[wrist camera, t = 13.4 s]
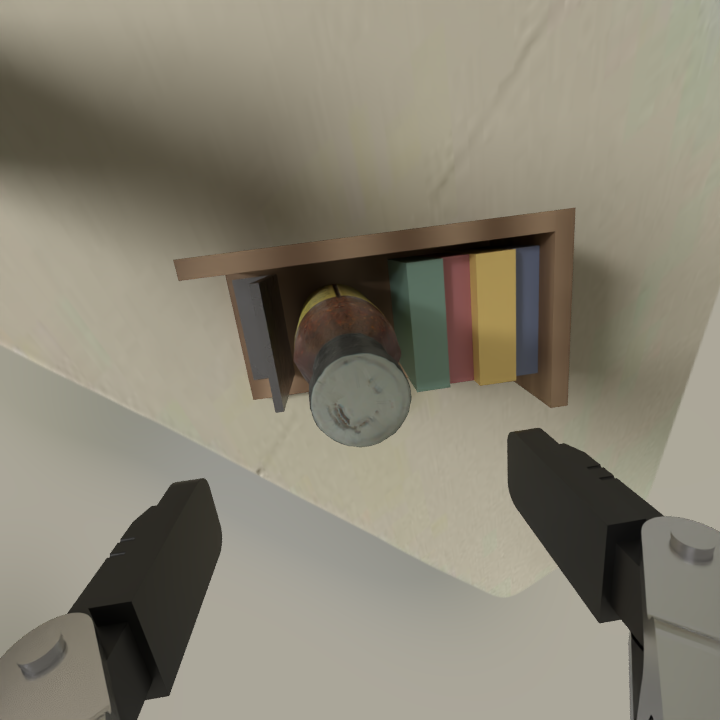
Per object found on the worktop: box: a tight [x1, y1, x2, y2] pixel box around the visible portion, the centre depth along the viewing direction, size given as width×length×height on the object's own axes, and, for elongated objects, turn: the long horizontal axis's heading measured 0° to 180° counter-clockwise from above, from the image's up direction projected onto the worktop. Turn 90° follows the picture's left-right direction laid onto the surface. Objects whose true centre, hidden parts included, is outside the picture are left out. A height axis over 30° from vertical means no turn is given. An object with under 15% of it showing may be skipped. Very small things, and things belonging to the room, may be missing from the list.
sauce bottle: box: [294, 284, 411, 447], centre depth 24 cm, size 6×6×20 cm
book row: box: [387, 245, 540, 392], centre depth 30 cm, size 9×9×9 cm
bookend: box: [232, 274, 295, 413], centre depth 29 cm, size 4×9×8 cm, turn 7°
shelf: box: [173, 208, 575, 408], centre depth 30 cm, size 24×13×12 cm, turn 97°
